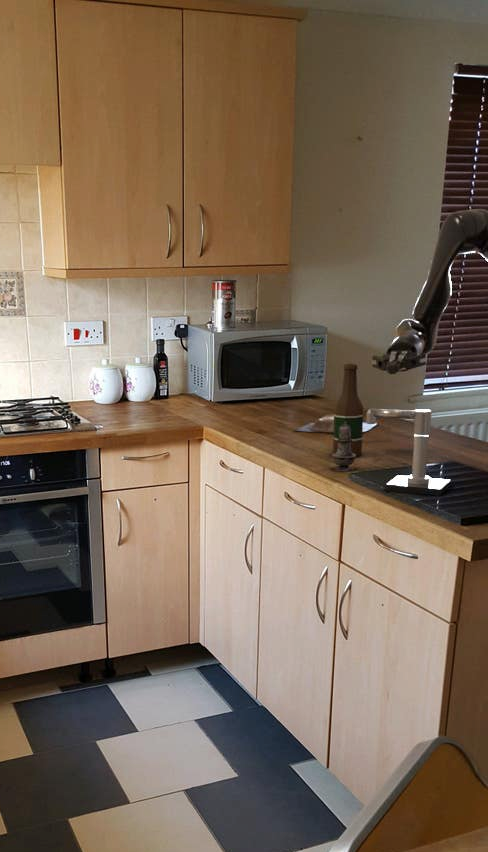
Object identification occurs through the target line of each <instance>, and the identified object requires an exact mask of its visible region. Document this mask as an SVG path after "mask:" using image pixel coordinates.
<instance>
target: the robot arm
mask: <svg viewBox="0 0 488 852" xmlns="http://www.w3.org/2000/svg"><path fill="white" fill-rule="evenodd" d="M470 253H471V254H472V253H478V254H480V255H481V256H482V257H483V258H485V260H486V261H487V262H488V210H487V209H483V208H474V209H465V210H458V211H454V212H451V213H449V214H448V215H447V216H446V217H445V219H444V221H443V223H442V224H441V227H440V230H439V232H438V236H437V240H436V243H435V247H434V251H433V254H432V259H431V263H430V266H429V270H428V274H427V277H426V279H425V283H424V285H423V287H422V290H421V292H420V294H419V297H418V298H417V301H416V303H415V306H414V307H413V310H412V316H413V318H414V320H413V319H410V318H407V319H403V320H402V321H401V322H400V323H399V324H398V325H397V327H396V329H395V333H394V338H393V339H394V340H393V342H392V343H391V344H390V345H389V346H388V348H387V350H386V353H385V354H383V355H382V356H381V355H380V356H379V355H373V356H372V357H371V358H372V368H375V369H378V370H380V371H383V372H386V373H388V374H389V375H396V374H397V373H399V372H403V373H404V372H408V371H410V370H413V369H416V368H419V367H424V366H426V365H427V355H428V354H430V353H431V352H432V351H433V350H434V348H435V346H436V343H437V339H438V331H439V325H440V321H441V318H442V316H443V314H444V312H445V310H446V308H447V306H448V304H449V302H450V299H451V296H452V281H451V274H450V271H451V267H452V265H453V263H454V261H455V259H456V258H457V257H458V255H463V254H470Z"/></svg>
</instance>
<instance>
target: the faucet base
mask: <svg viewBox="0 0 488 852" xmlns="http://www.w3.org/2000/svg"><path fill="white" fill-rule="evenodd" d="M428 448H429V435H425V436H419V435H414V434H413V448H412V449H413V450H412V451H413V452H412V454H413V455H412V468H411V474H410V475H396V476H395V477H394V478H393V479H391V480H390V481H388V482H387V483H386V484H385V492H392V493H405V494H416V495H417V494H418V495H427V496H438V497H440V496H442V494H443V493H444V492H446V491H447V490H448V489H449V488H450V487H451V479H444V478H432V477H430V476H429V475H427V465H428V464H427V463H428V450H429V449H428Z"/></svg>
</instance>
